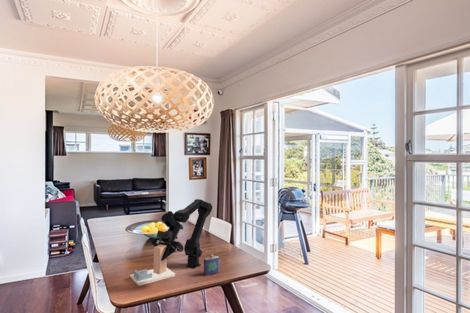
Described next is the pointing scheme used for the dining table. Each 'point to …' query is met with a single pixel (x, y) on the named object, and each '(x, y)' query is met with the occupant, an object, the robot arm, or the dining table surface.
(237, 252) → the dining table surface
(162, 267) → the tall peach block
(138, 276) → the dock
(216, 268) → the flask
